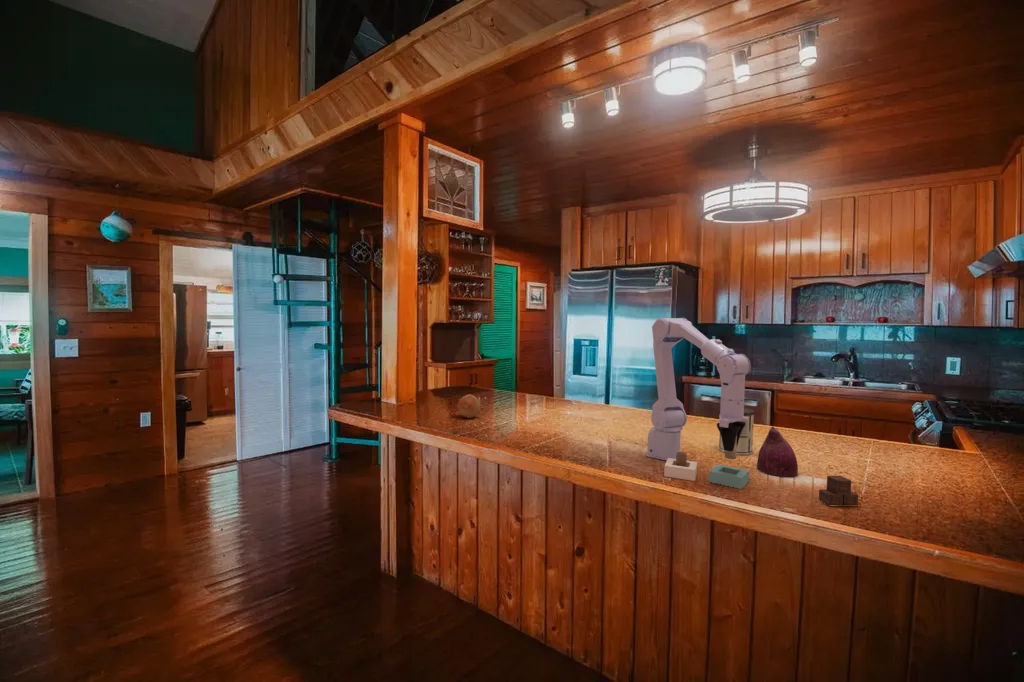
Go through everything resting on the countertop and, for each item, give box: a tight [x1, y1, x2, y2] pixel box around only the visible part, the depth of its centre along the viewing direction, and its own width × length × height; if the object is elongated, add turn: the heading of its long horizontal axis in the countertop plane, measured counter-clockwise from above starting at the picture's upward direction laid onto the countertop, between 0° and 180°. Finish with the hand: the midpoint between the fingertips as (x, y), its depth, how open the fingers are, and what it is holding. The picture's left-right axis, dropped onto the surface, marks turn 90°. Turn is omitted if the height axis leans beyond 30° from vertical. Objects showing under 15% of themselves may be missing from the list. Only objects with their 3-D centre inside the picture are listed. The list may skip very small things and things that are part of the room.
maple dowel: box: [724, 436, 737, 460], centre depth 126 cm, size 3×3×8 cm
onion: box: [456, 393, 482, 419], centre depth 201 cm, size 10×10×10 cm
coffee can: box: [718, 407, 755, 456], centre depth 156 cm, size 10×10×14 cm
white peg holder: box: [663, 458, 698, 482], centre depth 132 cm, size 8×8×3 cm
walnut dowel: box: [676, 451, 688, 467], centre depth 132 cm, size 3×3×6 cm
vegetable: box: [756, 425, 799, 478], centre depth 135 cm, size 10×10×15 cm
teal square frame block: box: [708, 463, 750, 490], centre depth 127 cm, size 8×8×3 cm
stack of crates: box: [818, 475, 859, 506], centre depth 114 cm, size 15×15×7 cm
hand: (730, 449), depth 127 cm, fingers closed on maple dowel, 3 cm apart
